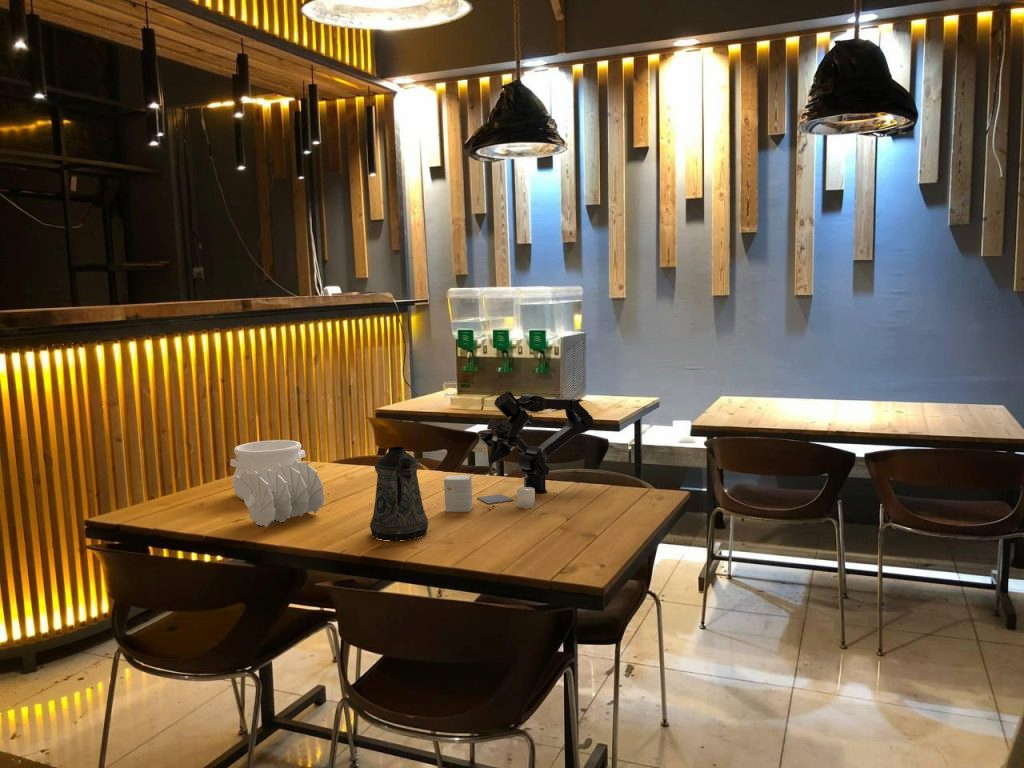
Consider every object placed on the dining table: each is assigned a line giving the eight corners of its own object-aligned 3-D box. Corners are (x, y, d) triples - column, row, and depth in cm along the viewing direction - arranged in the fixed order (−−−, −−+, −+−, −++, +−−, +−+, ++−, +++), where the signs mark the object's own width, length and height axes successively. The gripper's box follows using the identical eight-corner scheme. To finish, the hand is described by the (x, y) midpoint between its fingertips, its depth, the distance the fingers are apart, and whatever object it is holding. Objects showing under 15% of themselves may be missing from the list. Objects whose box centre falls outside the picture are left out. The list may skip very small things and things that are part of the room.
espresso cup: (530, 502, 268) (529, 485, 268) (537, 507, 261) (536, 490, 260) (513, 503, 267) (513, 486, 266) (520, 509, 259) (519, 491, 259)
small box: (472, 507, 263) (471, 475, 262) (470, 512, 258) (469, 479, 257) (448, 507, 264) (446, 475, 263) (444, 512, 259) (443, 479, 257)
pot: (292, 483, 305) (289, 436, 303) (320, 495, 285) (318, 445, 283) (221, 495, 289) (218, 445, 287) (246, 508, 270) (243, 455, 268)
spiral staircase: (324, 525, 261) (258, 541, 241) (291, 495, 270) (224, 508, 250) (341, 476, 256) (274, 489, 235) (306, 447, 264) (239, 457, 244)
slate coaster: (501, 495, 278) (501, 494, 278) (513, 500, 270) (513, 499, 270) (477, 498, 274) (477, 497, 274) (488, 504, 266) (488, 503, 266)
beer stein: (401, 522, 248) (397, 440, 245) (448, 533, 235) (445, 446, 233) (358, 536, 235) (354, 449, 232) (405, 548, 223) (401, 456, 220)
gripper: (483, 407, 277) (457, 444, 271) (520, 413, 263) (494, 452, 257) (501, 428, 283) (477, 464, 277) (538, 434, 269) (514, 472, 263)
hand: (489, 463), depth 269 cm, fingers closed
